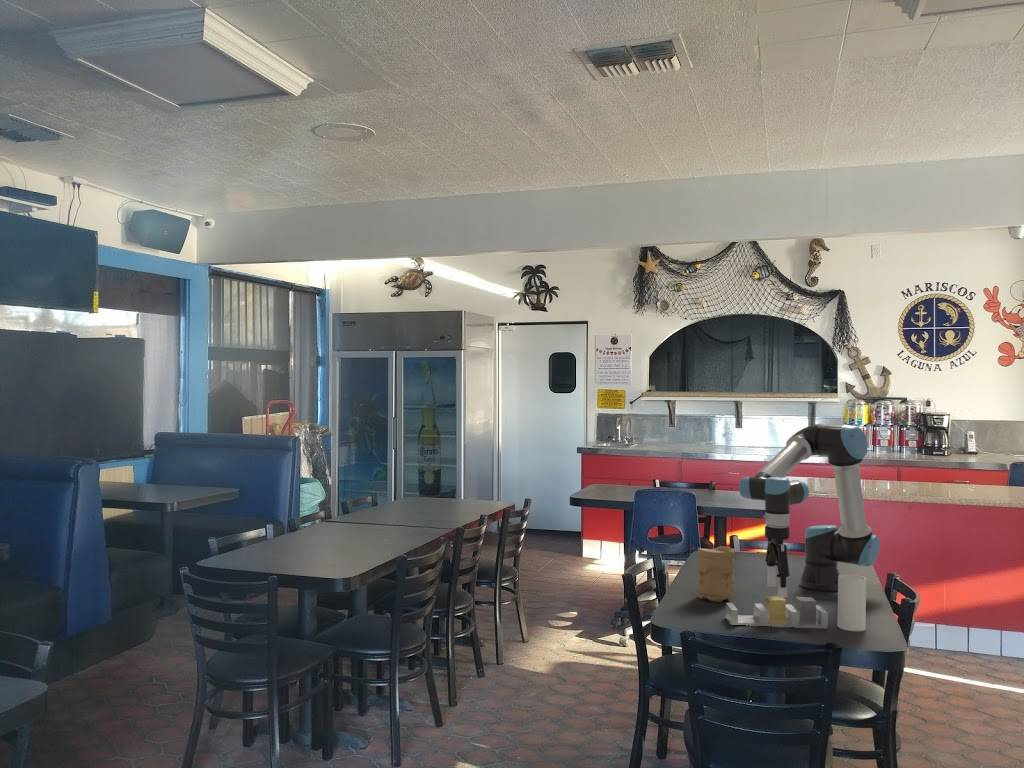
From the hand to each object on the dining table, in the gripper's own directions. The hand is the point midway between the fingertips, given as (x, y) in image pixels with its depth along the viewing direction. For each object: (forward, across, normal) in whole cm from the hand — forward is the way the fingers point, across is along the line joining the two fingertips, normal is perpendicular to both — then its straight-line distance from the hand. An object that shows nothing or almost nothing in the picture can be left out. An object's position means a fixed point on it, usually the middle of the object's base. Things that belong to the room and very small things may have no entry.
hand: (776, 591), depth 272 cm
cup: (+11, +3, +23) cm, 25 cm away
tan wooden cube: (+9, 0, 0) cm, 9 cm away
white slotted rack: (+10, 0, 0) cm, 10 cm away
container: (+10, -28, -14) cm, 33 cm away
